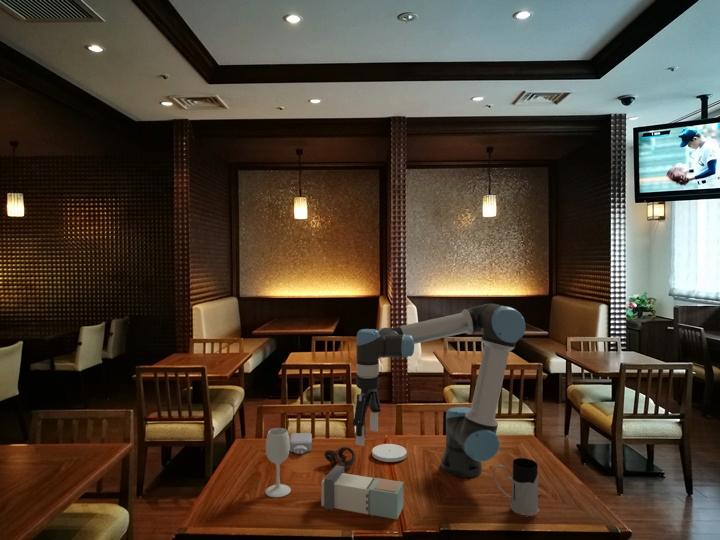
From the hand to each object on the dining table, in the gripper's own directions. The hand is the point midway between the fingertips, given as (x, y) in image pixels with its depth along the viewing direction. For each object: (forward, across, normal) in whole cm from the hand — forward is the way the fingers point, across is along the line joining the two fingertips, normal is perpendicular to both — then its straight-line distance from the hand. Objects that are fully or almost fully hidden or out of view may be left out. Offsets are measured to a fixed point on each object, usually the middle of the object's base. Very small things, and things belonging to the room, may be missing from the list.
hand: (367, 437), depth 160 cm
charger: (+20, -24, -39) cm, 50 cm away
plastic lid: (+20, -32, -2) cm, 38 cm away
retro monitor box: (+20, +7, +9) cm, 23 cm away
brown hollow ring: (+20, -17, -18) cm, 32 cm away
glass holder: (+20, -10, +48) cm, 53 cm away
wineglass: (+20, +9, -30) cm, 37 cm away
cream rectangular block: (+20, +8, -4) cm, 21 cm away
